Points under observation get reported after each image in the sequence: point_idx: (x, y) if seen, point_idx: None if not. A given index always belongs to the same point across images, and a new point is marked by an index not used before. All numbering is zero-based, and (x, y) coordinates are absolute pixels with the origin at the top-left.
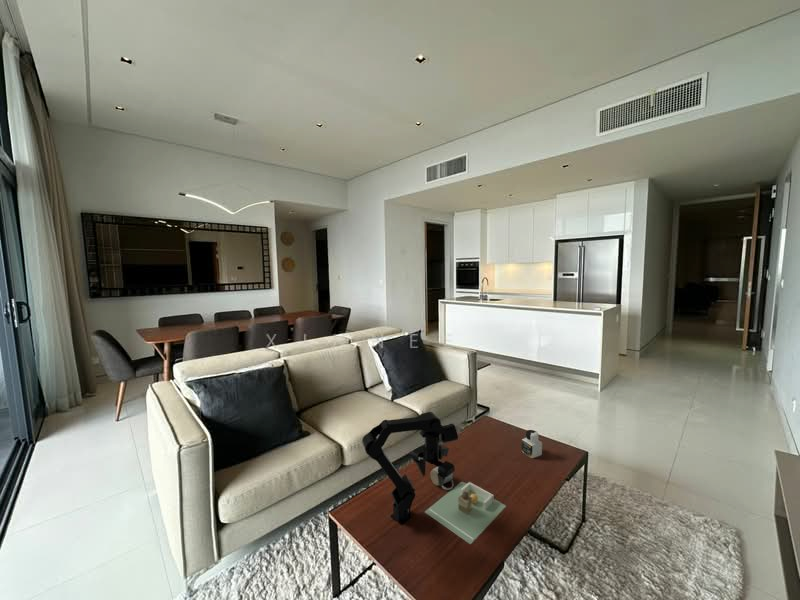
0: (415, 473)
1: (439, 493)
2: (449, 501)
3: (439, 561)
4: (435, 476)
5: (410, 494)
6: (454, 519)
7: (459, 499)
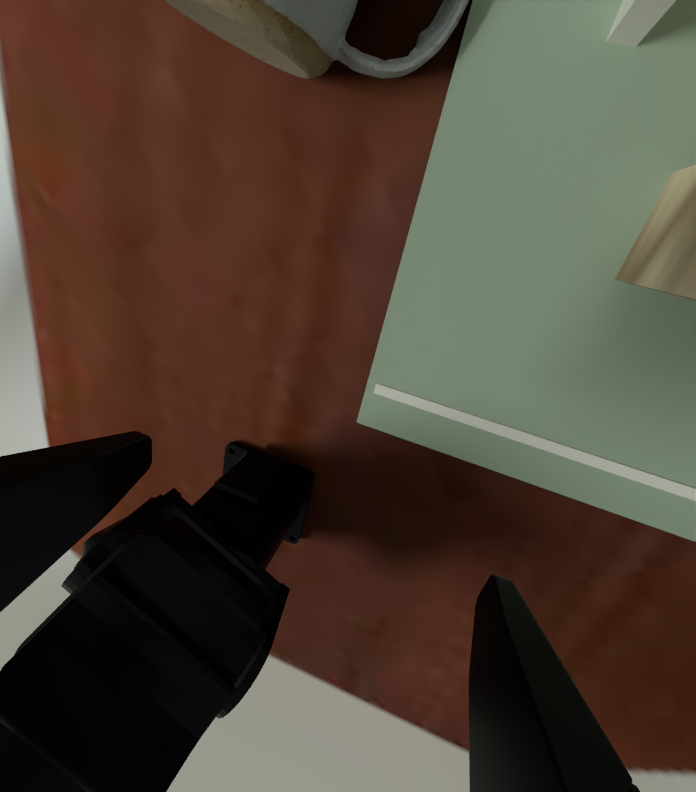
0: (64, 27)
1: (368, 160)
2: (498, 223)
3: (566, 667)
4: (235, 24)
5: (231, 708)
6: (598, 405)
7: (688, 297)
